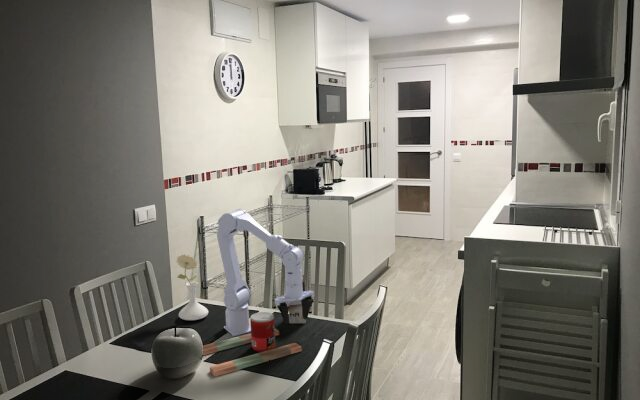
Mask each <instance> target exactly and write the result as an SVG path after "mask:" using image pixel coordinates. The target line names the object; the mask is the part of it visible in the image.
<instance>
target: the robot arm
mask: <svg viewBox="0 0 640 400" xmlns="http://www.w3.org/2000/svg"><path fill="white" fill-rule="evenodd" d="M217 224H218V226H217V231H216V238H217V242H218V248H219V252H220V256H221V262H222V266H223V271H224V275H225V280H226V285H225V287H224V289H223V292H224V295H223V296H224V297H223V302H224V303H223V304H224V306H225V307H226V309H225V312H224V313H225V325H224V326H223V328H224V329H225V330H226V332H228V333H229V334H230V335H232V337H235V336H236V337H237V336H241V335H245V334H249V333H251V326H250V313H249V301H250V300H251V298H252V292H251V290H250V288H249V286H248V284H247V281H245V280H244V279H243V277H242V271H241V268H240V264H239V263H240V262H239V260H238V254H237V249H236V246H235V245H236V244H235V240H234V236H235V235H236V234H237V232H238V231H239V232H240V231H247V232H249V233H251V234H252V235H253V236H255V238H258V239H259V240H261V241H262V242H264V243H265V246H266V249H267V250H269V251H270V252H271V253H273V254H274V255H276V256H277V257H278V258H279V259H281V262H282V263H281V264H283V266H284V271H285V272H284V274H285V278H284V279H285V294H284V295H281V296H279V297H277V298H274V305H275V306H276V307H277V308H278V311H279V312H280V315H281V316H282V317H281V318H282V321H283V324H285V325H289V305H288V304H289V302H292V301H296V300H297V301H299V300H301V304H302V315H303V318H304V319H306V320H308V319H309V318H308V317H309V312H310V309H311V307H312V305H313V303H314V297H315V291H313V290H306V291H304V292H303V287H302V275H303V265H302V261H303V260H304V258H305V257H304V256H305V254H304V251H303V250H302V248H301V247H300V246H294V245H293V244H292V243H289V242H287V240H285V239H284V238H283V236H282V235H281V234H279V235H278V234H271V233H270V232H269V231H268V230H267V229H266V228H264V227H263V226H262V225H261V224H260V223H258V222H257V221H256V220H255V219H254V218H253V217H252V216H251V214H250V213H248V212H246V210H244V209H242V208H238V209H235V210H233V211H230V212H226V213H223V214H221V216H220V217H219V218H218V220H217ZM287 303H288V304H287Z"/></svg>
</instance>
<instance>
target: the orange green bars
mask: <svg viewBox="0 0 640 400" xmlns="http://www.w3.org/2000/svg"><path fill="white" fill-rule="evenodd" d="M277 336H280V330H278V329H277V328H276V327H275V337H277ZM250 343H251V344H252V341H251V332H249V333H245V334H241V335H237V336H236V337H235V336H233V337H231V338H227V339H223V340H220V341H215V342H212V343H207V344H205V345H204V344H203V345H202V346H203V356H205V355H210V354H213V353H218V352H220V351H224V350H229V349H231V348H235V347H240V346H242V345H247V344H250ZM302 349H303V348H302V346H301V345H300V344H298V343H297V342H292V343H289V344H287V345H286V344H285V345H282V346H279V347H274V349H271V350H267V351H264V352H258V353H254V354H250V355H247V356H243V357H240V358H236V359H233V360H229V361H225V362H222V363H218V364H215V365H211V366H209V372H210V373H211V374H212V375H213V376H214V377H219V376H222V375H226V374H229V373H233V372H235V371H238V370H239V371H240V370H241V369H247V368H248V367H252V366H256V365H259V364H262V363H266V362H269V360H270V361H273V360H275V359H280V358H282V357H287V356H289V355H292V354H293V355H294V354H297V353H299V352H302Z"/></svg>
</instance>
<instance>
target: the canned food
mask: <svg viewBox="0 0 640 400" xmlns="http://www.w3.org/2000/svg"><path fill="white" fill-rule="evenodd" d="M249 324H250V327H251V332H250V333H251V341H252V342H251V348H252V350H254V351H255V352H258V353H260V352H264V351H267V350H271V349H275V348H276V336H275V328H276V327H275V315H274V314H273V313H271V312H268V311H267V312H266V311H261V312H260V311H259V312H255V313H253V314H251V315H250V316H249Z"/></svg>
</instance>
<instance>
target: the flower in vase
mask: <svg viewBox="0 0 640 400" xmlns="http://www.w3.org/2000/svg"><path fill="white" fill-rule="evenodd" d="M176 263H177V264H178V266H180V268H183V269H184V274H182V273H180V274H178V275H177V277H176V278H178V279H181V280H187V281H188V282H186V283H185V285H184V286H186V288H187V290H188V294H189V301H188V303H187V304H185V306H183V307H182V308H181V310H180V311H179V313H178V318H180V319H182V320H184V321H197V320H201V319H203V318H205V317H207V316H208V314H209V309H208V308H207V307H206V306H204V305H202V304H200V303H199V302H198V301H197V298H196V292H197V291H196V290H197V286H198V285H199V282H198V281H192V280H194V279H195V278H197V276H198V274H196V275H193V276H192V277H190V279H189V278H188V277H187V274H186V272H187V271H186V270H189V271H190V270H194V269H196V268H197V266H198V262H197V260H196V259H195V258H194V257H193V256H190V255H189V254H187V255H186V254H181V255H179V256H177V259H176Z"/></svg>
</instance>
